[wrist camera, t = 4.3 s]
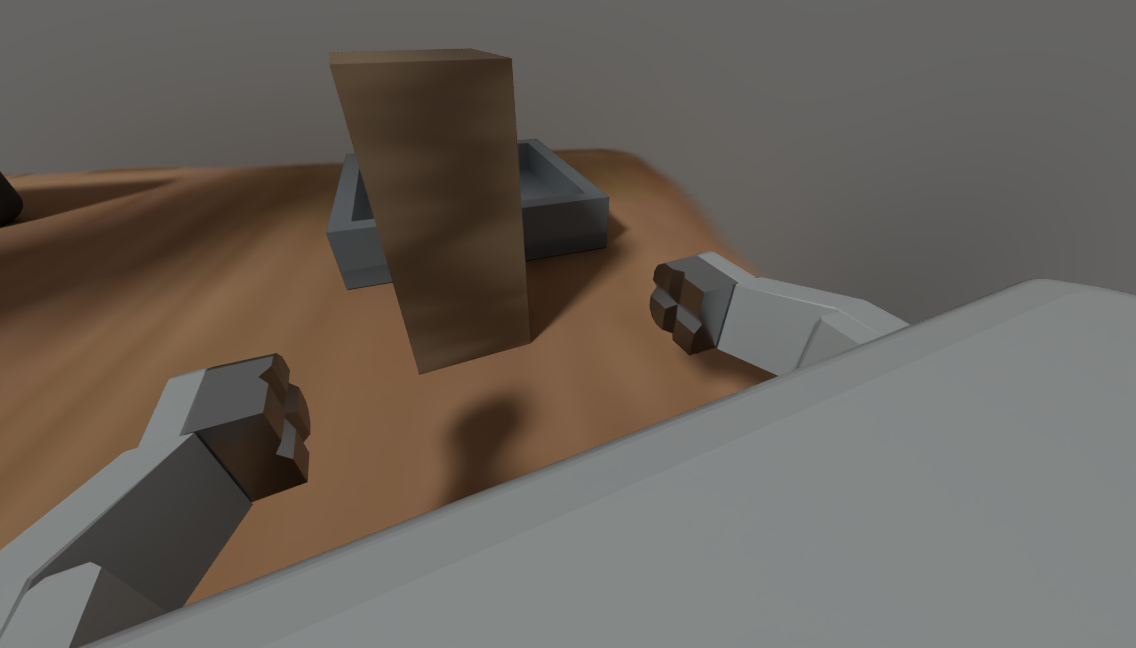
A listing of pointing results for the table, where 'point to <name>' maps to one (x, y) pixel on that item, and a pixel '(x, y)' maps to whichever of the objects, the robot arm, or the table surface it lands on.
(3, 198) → the blue scroll wheel mouse
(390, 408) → the table surface
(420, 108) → the walnut block
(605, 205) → the tray
